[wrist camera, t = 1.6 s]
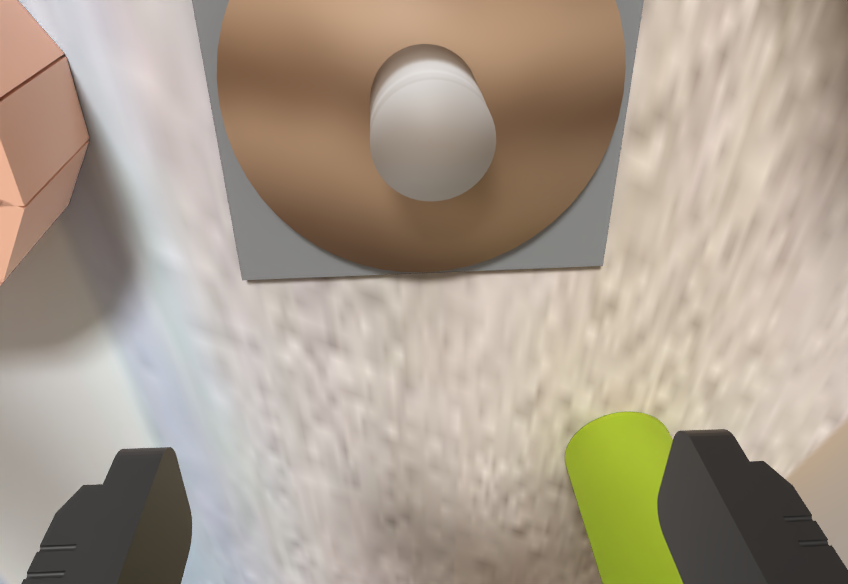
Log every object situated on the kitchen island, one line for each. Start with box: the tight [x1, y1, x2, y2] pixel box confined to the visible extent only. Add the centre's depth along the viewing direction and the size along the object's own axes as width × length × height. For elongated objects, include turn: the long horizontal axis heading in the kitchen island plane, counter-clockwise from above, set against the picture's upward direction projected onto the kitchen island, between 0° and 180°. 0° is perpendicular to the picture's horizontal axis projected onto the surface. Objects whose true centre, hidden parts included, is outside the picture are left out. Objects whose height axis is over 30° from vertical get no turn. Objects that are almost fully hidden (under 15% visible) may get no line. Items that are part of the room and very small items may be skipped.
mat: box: [192, 0, 644, 280], centre depth 26 cm, size 16×16×1 cm
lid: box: [217, 0, 626, 272], centre depth 24 cm, size 15×15×5 cm
